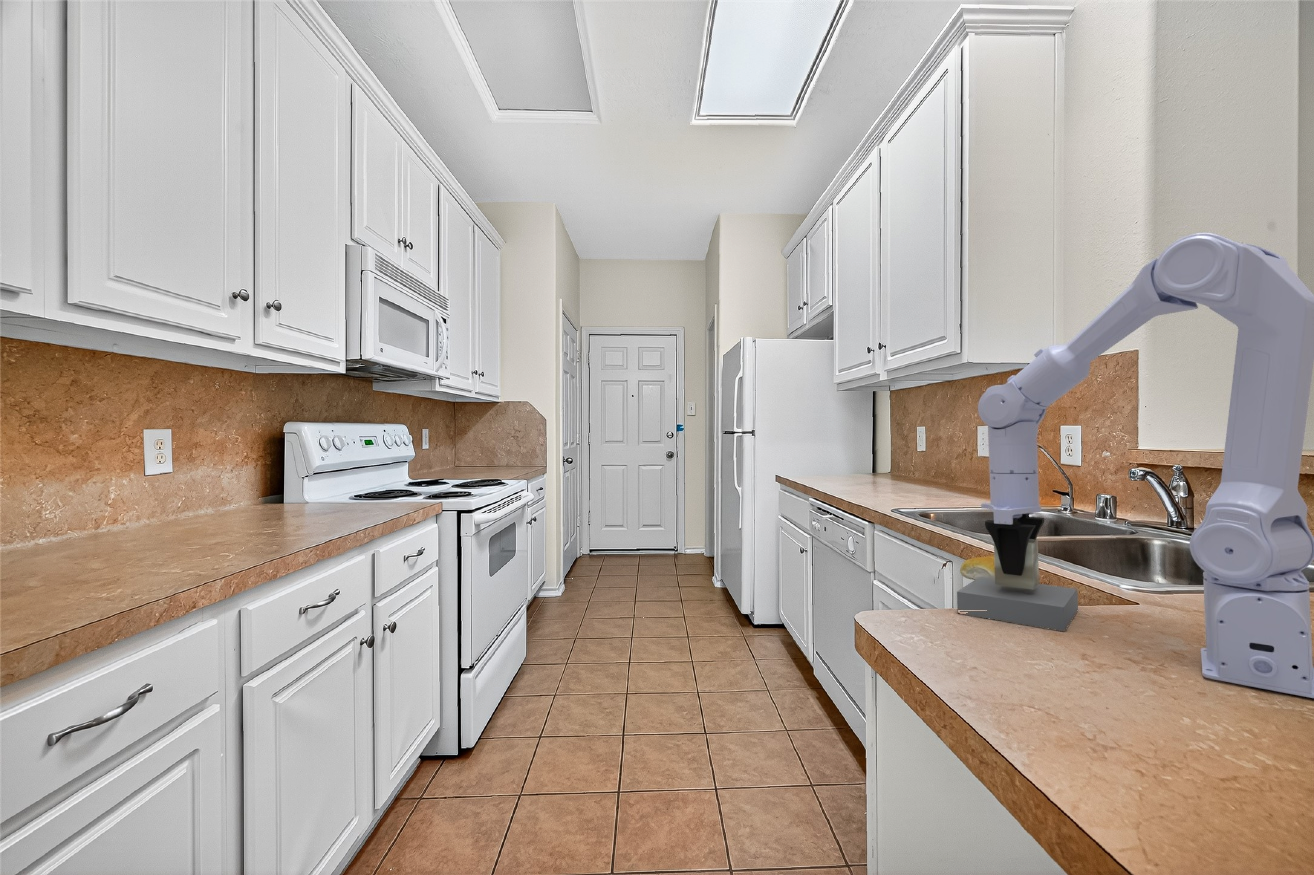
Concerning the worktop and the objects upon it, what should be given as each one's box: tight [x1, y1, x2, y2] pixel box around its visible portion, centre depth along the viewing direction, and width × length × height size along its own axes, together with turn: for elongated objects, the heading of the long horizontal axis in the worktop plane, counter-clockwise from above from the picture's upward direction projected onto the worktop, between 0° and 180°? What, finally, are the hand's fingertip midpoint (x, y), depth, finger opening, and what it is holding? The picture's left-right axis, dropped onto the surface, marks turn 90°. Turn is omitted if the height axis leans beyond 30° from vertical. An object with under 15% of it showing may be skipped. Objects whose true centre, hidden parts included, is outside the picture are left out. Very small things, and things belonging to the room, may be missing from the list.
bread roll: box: [959, 555, 995, 581], centre depth 98 cm, size 8×9×4 cm
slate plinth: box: [956, 577, 1079, 632], centre depth 77 cm, size 12×12×3 cm
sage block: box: [993, 539, 1040, 589], centre depth 77 cm, size 4×4×6 cm
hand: (1016, 571), depth 77 cm, fingers closed on sage block, 4 cm apart
